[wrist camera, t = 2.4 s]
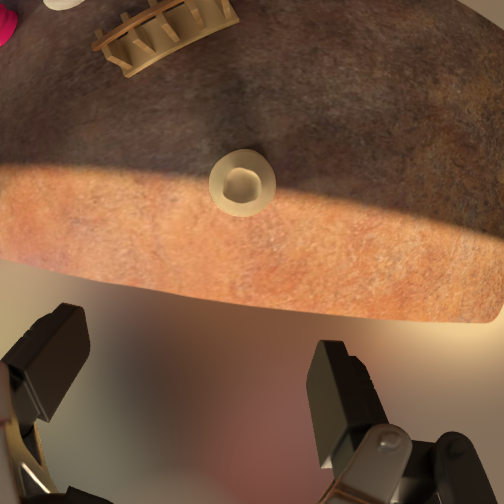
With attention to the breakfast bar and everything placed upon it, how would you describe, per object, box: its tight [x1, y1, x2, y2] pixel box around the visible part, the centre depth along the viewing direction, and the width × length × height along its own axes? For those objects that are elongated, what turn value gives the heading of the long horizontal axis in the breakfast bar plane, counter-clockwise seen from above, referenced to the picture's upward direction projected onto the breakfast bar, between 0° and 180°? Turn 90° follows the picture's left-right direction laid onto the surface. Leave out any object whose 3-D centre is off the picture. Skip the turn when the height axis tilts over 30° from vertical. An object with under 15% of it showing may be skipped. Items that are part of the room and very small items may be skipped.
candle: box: [209, 149, 276, 217], centre depth 28 cm, size 6×6×10 cm
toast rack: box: [91, 0, 239, 78], centre depth 23 cm, size 14×5×8 cm, turn 115°
